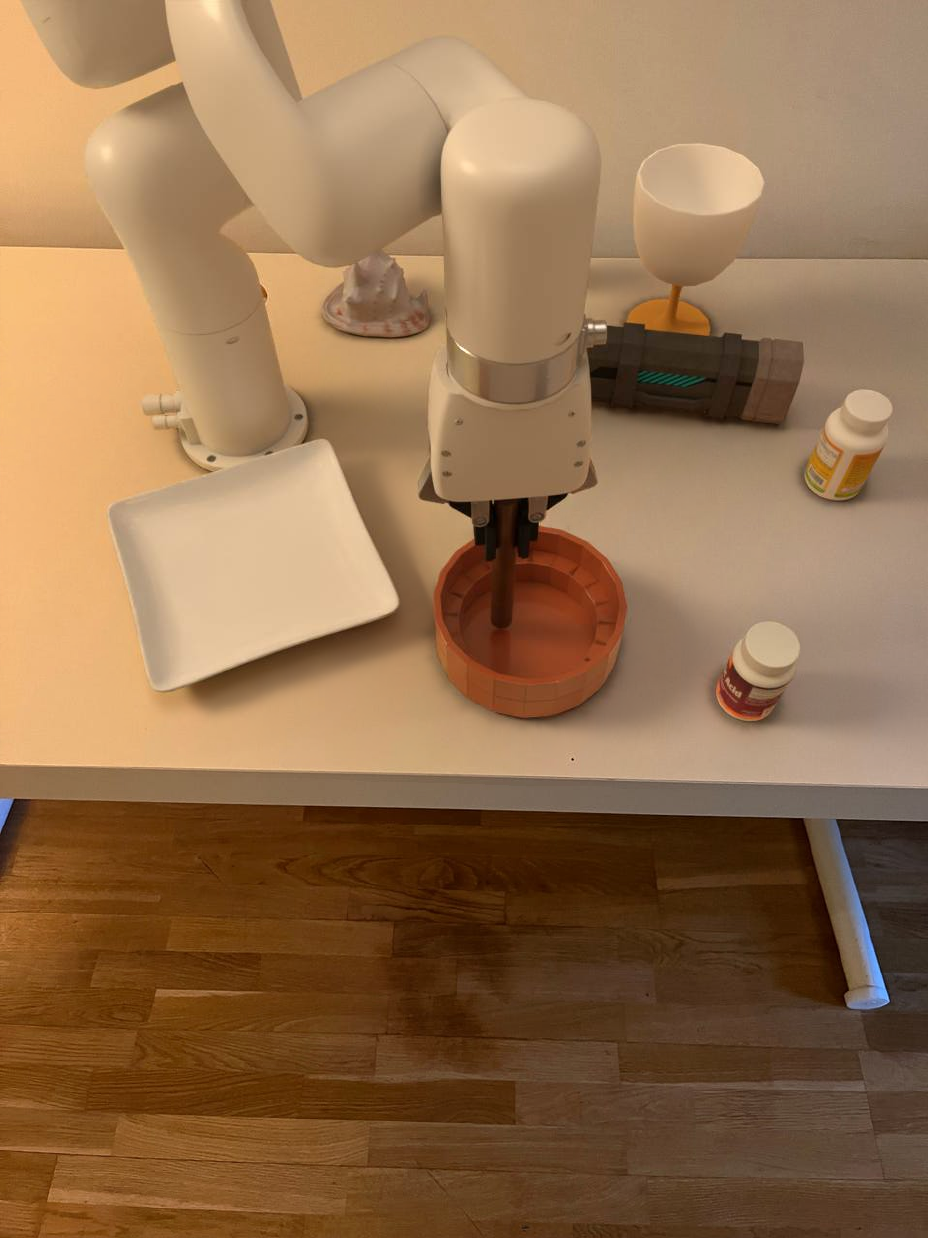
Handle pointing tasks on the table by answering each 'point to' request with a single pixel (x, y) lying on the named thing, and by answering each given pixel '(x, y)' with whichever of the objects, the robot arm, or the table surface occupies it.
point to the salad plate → (246, 564)
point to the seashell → (376, 300)
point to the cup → (690, 225)
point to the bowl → (531, 626)
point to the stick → (504, 561)
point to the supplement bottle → (849, 445)
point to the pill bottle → (758, 671)
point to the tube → (696, 372)
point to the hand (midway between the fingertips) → (504, 543)
